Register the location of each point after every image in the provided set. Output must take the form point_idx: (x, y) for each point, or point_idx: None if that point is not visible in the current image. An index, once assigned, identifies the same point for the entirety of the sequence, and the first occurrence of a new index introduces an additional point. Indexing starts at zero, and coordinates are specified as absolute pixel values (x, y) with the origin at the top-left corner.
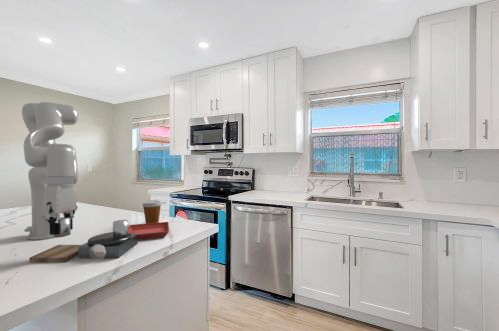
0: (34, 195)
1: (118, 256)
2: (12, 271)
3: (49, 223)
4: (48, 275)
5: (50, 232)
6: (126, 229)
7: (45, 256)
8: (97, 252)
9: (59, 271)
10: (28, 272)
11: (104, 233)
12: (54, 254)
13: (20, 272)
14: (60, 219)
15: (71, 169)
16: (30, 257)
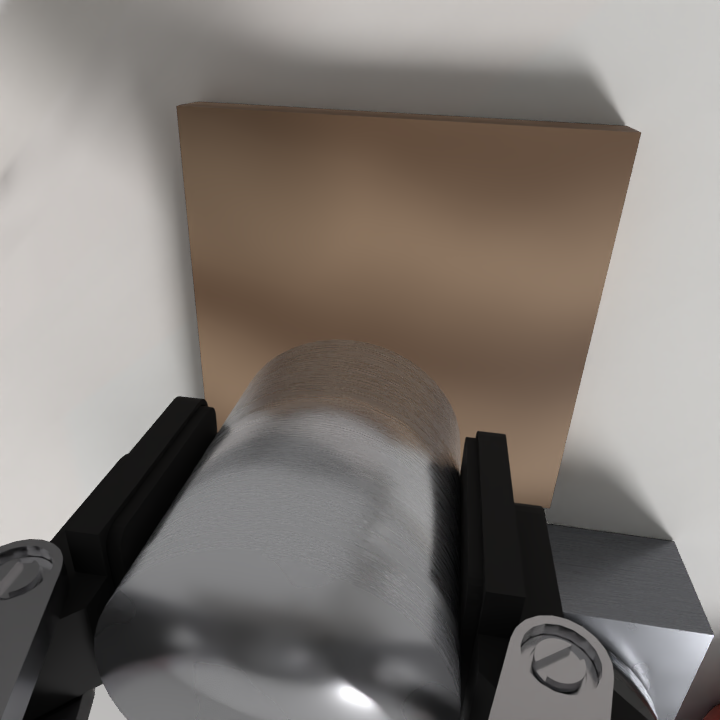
0: None
1: None
2: (4, 118)
3: (28, 553)
4: (20, 449)
5: (169, 419)
6: None
7: (220, 269)
8: None
9: (81, 481)
10: (23, 282)
11: (623, 695)
12: (275, 324)
13: (7, 214)
14: (183, 709)
15: None
16: (184, 114)
